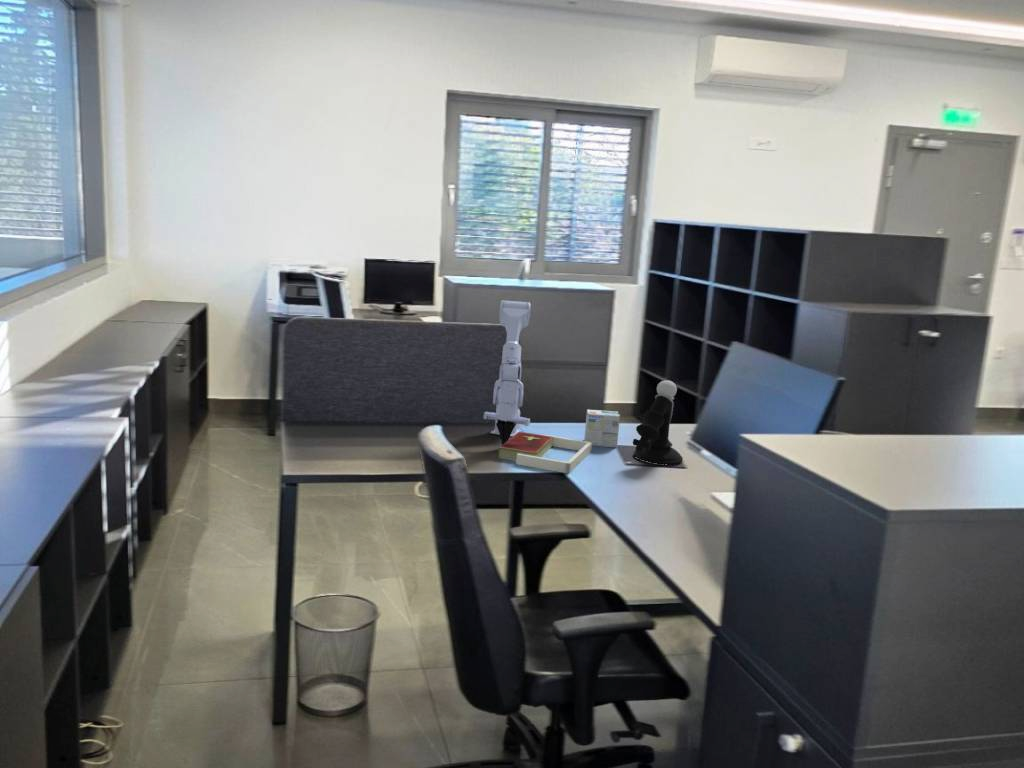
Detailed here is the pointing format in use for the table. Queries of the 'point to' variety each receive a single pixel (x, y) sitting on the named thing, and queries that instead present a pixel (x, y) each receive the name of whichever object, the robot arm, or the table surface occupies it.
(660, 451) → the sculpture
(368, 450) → the table surface
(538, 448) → the hardcover book
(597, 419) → the light bulb box
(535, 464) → the document bay
